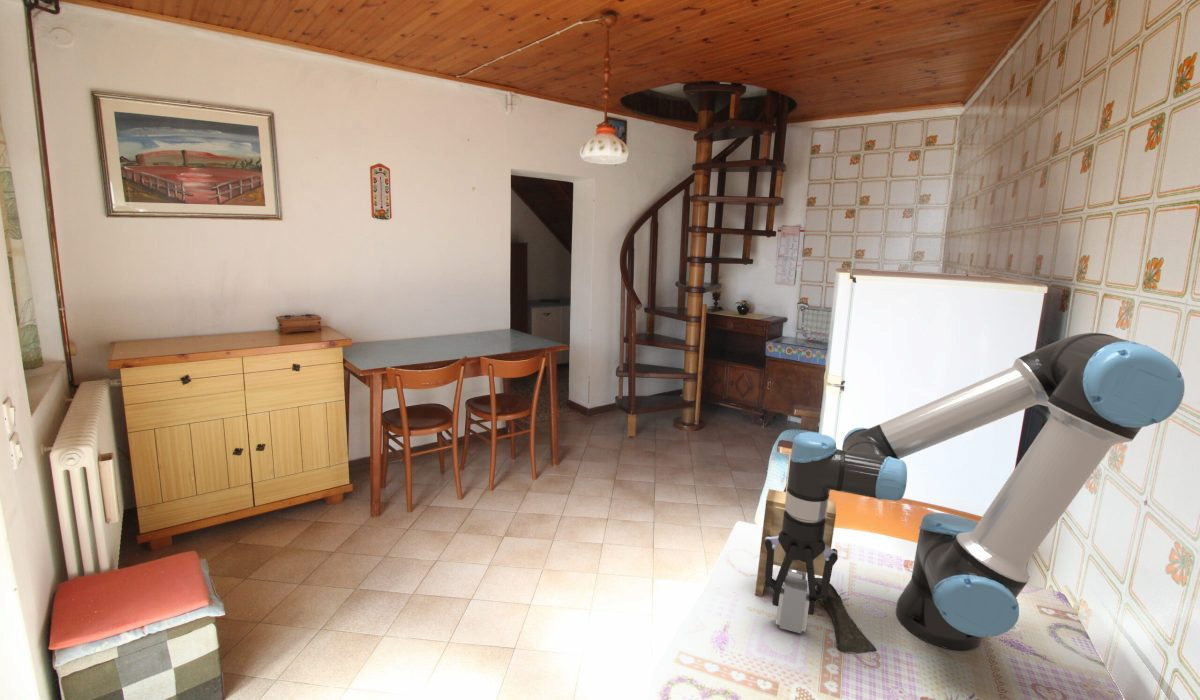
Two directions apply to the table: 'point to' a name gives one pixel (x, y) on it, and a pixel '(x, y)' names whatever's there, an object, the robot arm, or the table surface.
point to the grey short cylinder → (797, 573)
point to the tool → (844, 624)
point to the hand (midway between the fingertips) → (791, 623)
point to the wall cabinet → (774, 527)
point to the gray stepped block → (793, 602)
